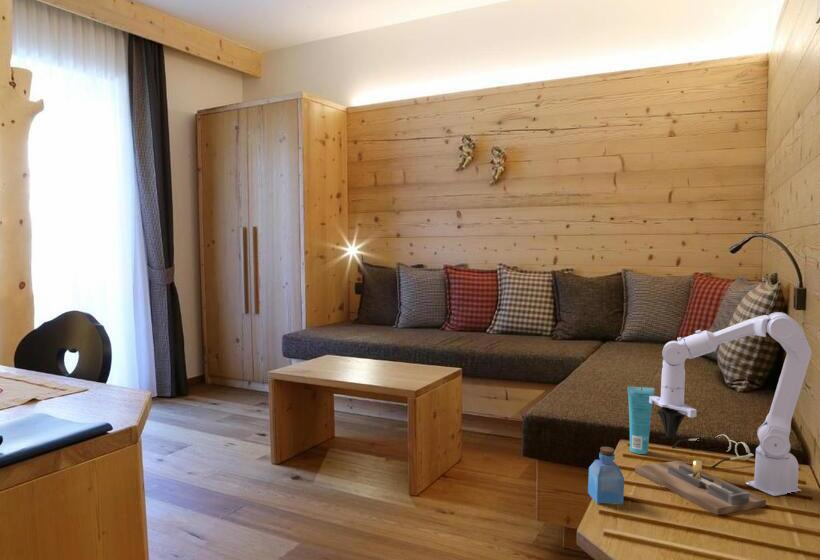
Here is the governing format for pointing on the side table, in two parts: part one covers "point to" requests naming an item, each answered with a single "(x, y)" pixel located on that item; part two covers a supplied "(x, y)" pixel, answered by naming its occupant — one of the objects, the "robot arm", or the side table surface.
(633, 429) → the tube
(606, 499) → the perfume bottle
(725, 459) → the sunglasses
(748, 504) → the door board
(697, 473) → the bolt
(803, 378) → the robot arm
